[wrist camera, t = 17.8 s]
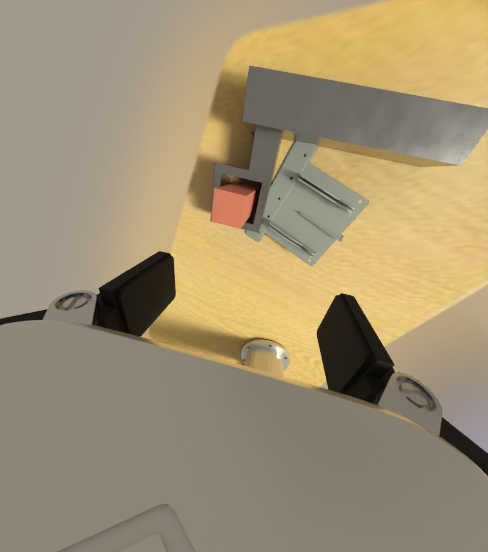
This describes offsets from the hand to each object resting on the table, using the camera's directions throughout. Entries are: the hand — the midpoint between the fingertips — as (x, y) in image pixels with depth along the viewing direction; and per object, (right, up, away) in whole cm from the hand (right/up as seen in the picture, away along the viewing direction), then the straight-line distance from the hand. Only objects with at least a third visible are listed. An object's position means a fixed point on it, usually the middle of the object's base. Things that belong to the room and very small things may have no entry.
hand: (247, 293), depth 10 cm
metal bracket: (+9, +11, +18) cm, 23 cm away
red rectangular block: (0, +13, +18) cm, 22 cm away
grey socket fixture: (+9, +15, +15) cm, 23 cm away
